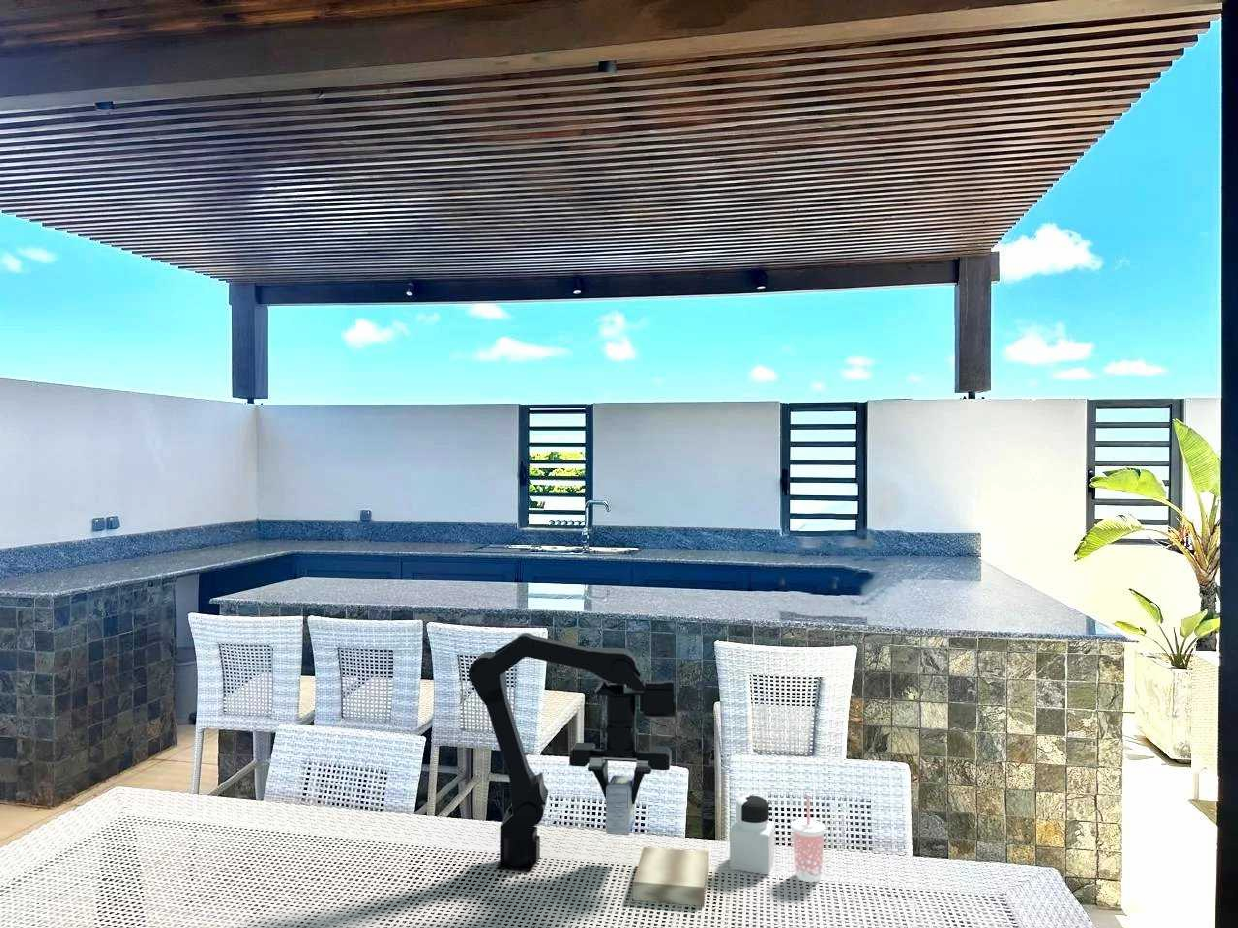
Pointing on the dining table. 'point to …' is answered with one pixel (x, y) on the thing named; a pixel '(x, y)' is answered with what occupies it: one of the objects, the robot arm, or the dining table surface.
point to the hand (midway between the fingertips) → (620, 802)
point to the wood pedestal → (671, 876)
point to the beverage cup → (808, 847)
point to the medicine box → (619, 805)
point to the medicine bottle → (752, 836)
